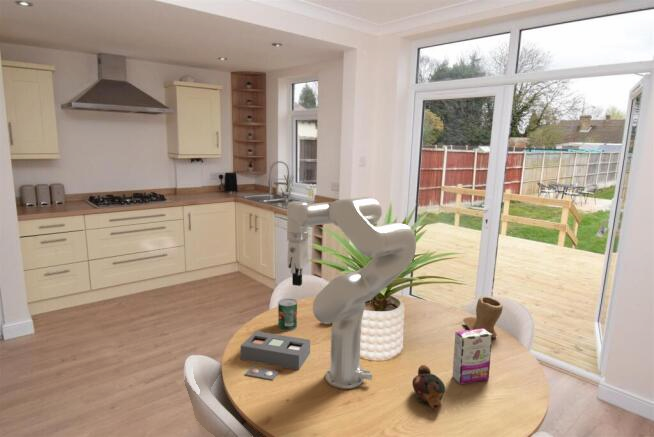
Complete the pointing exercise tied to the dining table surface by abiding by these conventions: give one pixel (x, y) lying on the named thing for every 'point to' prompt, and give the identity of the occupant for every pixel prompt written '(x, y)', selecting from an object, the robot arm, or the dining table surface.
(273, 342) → the sage key
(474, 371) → the candy bar box
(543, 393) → the dining table surface
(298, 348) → the off-white key
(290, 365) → the keypad housing
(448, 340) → the dining table surface
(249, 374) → the card
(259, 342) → the terracotta key
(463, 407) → the dining table surface
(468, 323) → the tan boot
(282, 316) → the canned tomato
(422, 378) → the decorative turtle
